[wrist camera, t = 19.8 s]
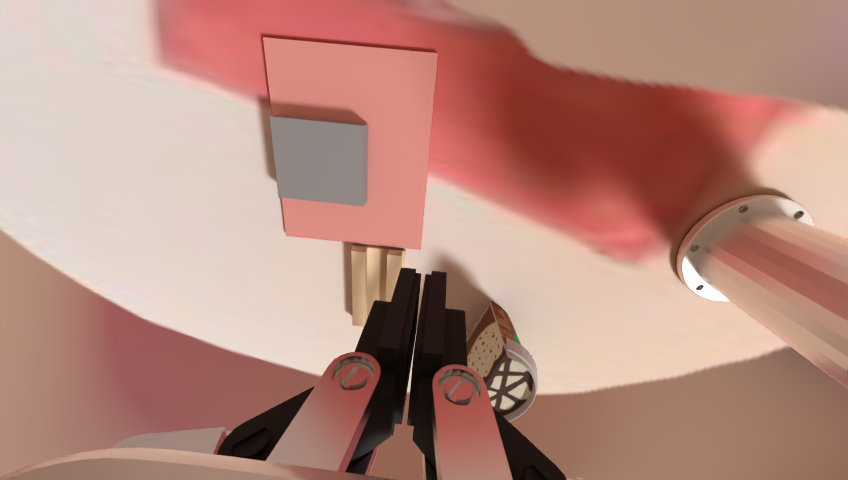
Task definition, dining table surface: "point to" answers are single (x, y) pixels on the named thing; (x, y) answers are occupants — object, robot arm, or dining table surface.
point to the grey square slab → (320, 159)
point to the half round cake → (502, 363)
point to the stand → (373, 278)
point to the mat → (387, 133)
